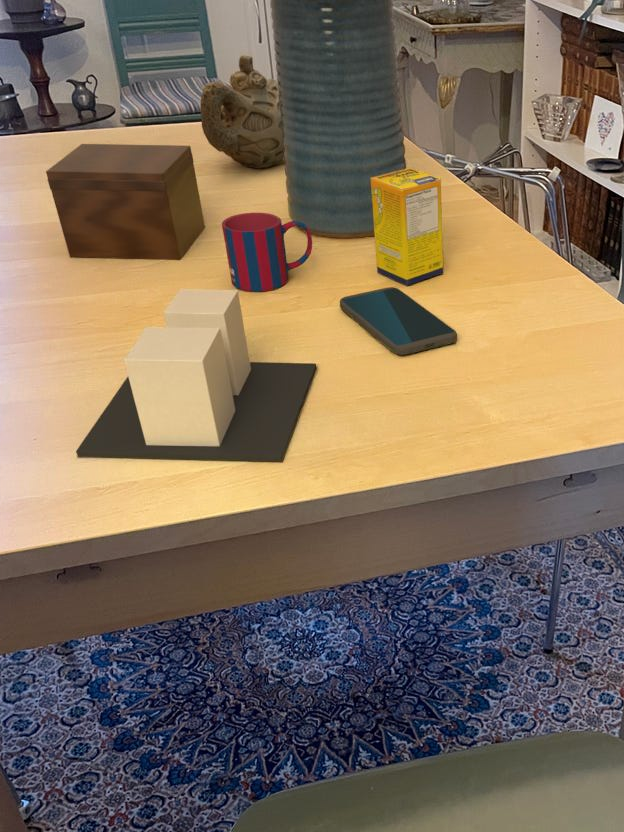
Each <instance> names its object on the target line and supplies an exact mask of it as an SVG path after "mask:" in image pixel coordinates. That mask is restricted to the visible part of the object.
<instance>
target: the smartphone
mask: <svg viewBox="0 0 624 832" xmlns="http://www.w3.org/2000/svg"><path fill="white" fill-rule="evenodd" d="M339 308H340V309H341V310H342V311H343V312H344V313H346V314H347V315H348V316H349V317H350V318H352V319H353V320H354V321H355V322H357V323H358V324H359V325H360V326H361V327H362V328H364V329H365V330H366V331H367V332H368V333H370V334H371V335H372V336H373V337H374V338H375V339H376V340H378V341H379V342H381V343H382V345H384V346H385V347H386V348H387V349H388V350H389V351H391V352H392V353H393V354H396V355H398V356H399V355H400V356H405V355H411V354H414V353H418V352H419V353H420V352H423V351H426V350H430V349H434V348H439V347H443V346H447V345H451V344H454V343H456V342H457V340H458V333H457V331H456V330H455V329H454V328H452V327H451V326H449V325H448V324H447V323H446V322H444V321H443V320H442V319H440V318H439V317H438V316H436V315H435V314H434V313H432V312H431V311H430V310H428V309H427V308H425V307H424V306H423V305H421V304H420V303H418V302H417V301H416V300H415V299H413V298H412V297H410V296H409V295H408V294H406V293H405V292H404V291H402V290H401V289H400V288H397V287H393V286H391V287H389V286H388V287H384V288H379V289H374V290H369V291H365V292H360V293H355V294H351V295H347V296H346V295H345V296H343V297H341V298H340V299H339Z"/></svg>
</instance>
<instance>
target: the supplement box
mask: <svg viewBox="0 0 624 832" xmlns="http://www.w3.org/2000/svg"><path fill="white" fill-rule="evenodd" d="M371 192H372V204H373V219H374V233H375V235H374V243H375V244H374V245H375V260H376V273H377V274H379V275H381V276H384V277H386V278H388V279H390V280H392V281H395V282H397V283H399V284H401V285H404V286H407V287H408V286H410V285H414V284H415V283H419V282H421V281H424V280H427V279H430V278H433V277H435V276H436V277H437V276H439V275H441V274H442V275H443V274H444V251H443V248H444V247H443V216H442V214H443V213H442V212H443V211H442V180H441V177H439V176H435V175H432V174H429V173H426V172H423V171H421V170H417V169H416V168H412V167H406V169H403V170H399V171H395V172H392V173H388V174H384V175H380V176H376V177H372V178H371Z"/></svg>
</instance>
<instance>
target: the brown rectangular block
mask: <svg viewBox="0 0 624 832" xmlns="http://www.w3.org/2000/svg"><path fill="white" fill-rule="evenodd" d="M194 162H195V161H194V157H193V152H192V148H191V145H178V144H177V145H174V144H170V145H169V144H122V143H121V144H119V143H118V144H116V143H114V144H113V143H108V144H107V143H81V144H79V146H77V147H75V148H74V149H73V150H72V151H70V152H69V153H68V154H67V155H65V156H63V157H62V158H61V159H60V160H59V161H57V162H56V163H55V164H53V165H52V166H51V167H49V168H48V169H47V170H46V171H45V173H46V177H47V183H48V186H49V189H50V191H51V195H52V198H53V202H54V207H55V210H56V212H57V216H58V220H59V223H60V227H61V231H62V234H63V237H64V241H65V245H66V249H67V252H68V255H69V258H84V259H85V258H87V259H90V258H91V259H135V260H137V259H138V260H177V261H179V260H180V261H181V260H182V258H183V257H184V256H185V254H187V252H188V251H189V250H190V248H191V247H192V246H193V244H194V243H195V241H196V240H197V239H198V237H199V236H200V235H201V233H202V232H203V231H204V229H205V228H206V225H205V219H204V213H203V208H202V207H203V206H202V203H201V202H202V201H201V196H200V192H199V186H198V180H197V176H196V170H195V165H194V164H195V163H194Z"/></svg>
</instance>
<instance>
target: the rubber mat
mask: <svg viewBox="0 0 624 832" xmlns="http://www.w3.org/2000/svg"><path fill="white" fill-rule="evenodd" d="M250 366H251V371H250V373H249V375H248V377H247V379H246V381H245V383H244V385H243V387H242V389H241V391H240V393H239V395H233V400H234V406H235V413H234V415H233V417H232V420H231V422H230V424H229V426H228V429H227V431H226V433H225V435H224V438H223V440H222V442H221V445H220V446H158V445H146V442H145V438H144V434H143V431H142V427H141V423H140V419H139V415H138V412H137V408H136V404H135V400H134V396H133V393H132V389H131V385H130V381H129V377H128V376H127V377H126V378H125V380H124V381H123V383H122V384H121V385H120V387H119V389H118V390H117V391H116V392H115V394H114V396H113V397H112V398H111V400H110V401H109V402H108V404H107V406H106V407H105V408H104V410H103V412H102V413H101V414H100V415H99V417H98V418H97V420H96V421H95V422H94V425H93V426H92V427H91V429H90V430H89V431H88V433H87V435H86V436H85V437H84V439H83V440H82V441H81V443H80V445H79V446H78V447H77V449H76V451H75V453H76V456H77V458H102V459H104V458H107V459H139V460H140V459H143V460H146V459H149V460H182V461H187V460H188V461H219V462H221V461H223V462H256V463H257V462H259V463H261V462H262V463H283V461H284V458H285V456H286V453H287V450H288V447H289V445H290V442H291V440H292V436H293V434H294V431H295V428H296V426H297V423H298V420H299V418H300V416H301V415H300V414H301V412H302V410H303V408H304V405H305V401H306V398H307V396H308V393H309V390H310V388H311V385H312V383H313V380H314V377H315V374H316V371H317V369H318V367H317V363H313V362H309V363H307V362H272V361H271V362H270V361H269V362H268V361H267V362H266V361H263V362H262V361H250Z"/></svg>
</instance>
